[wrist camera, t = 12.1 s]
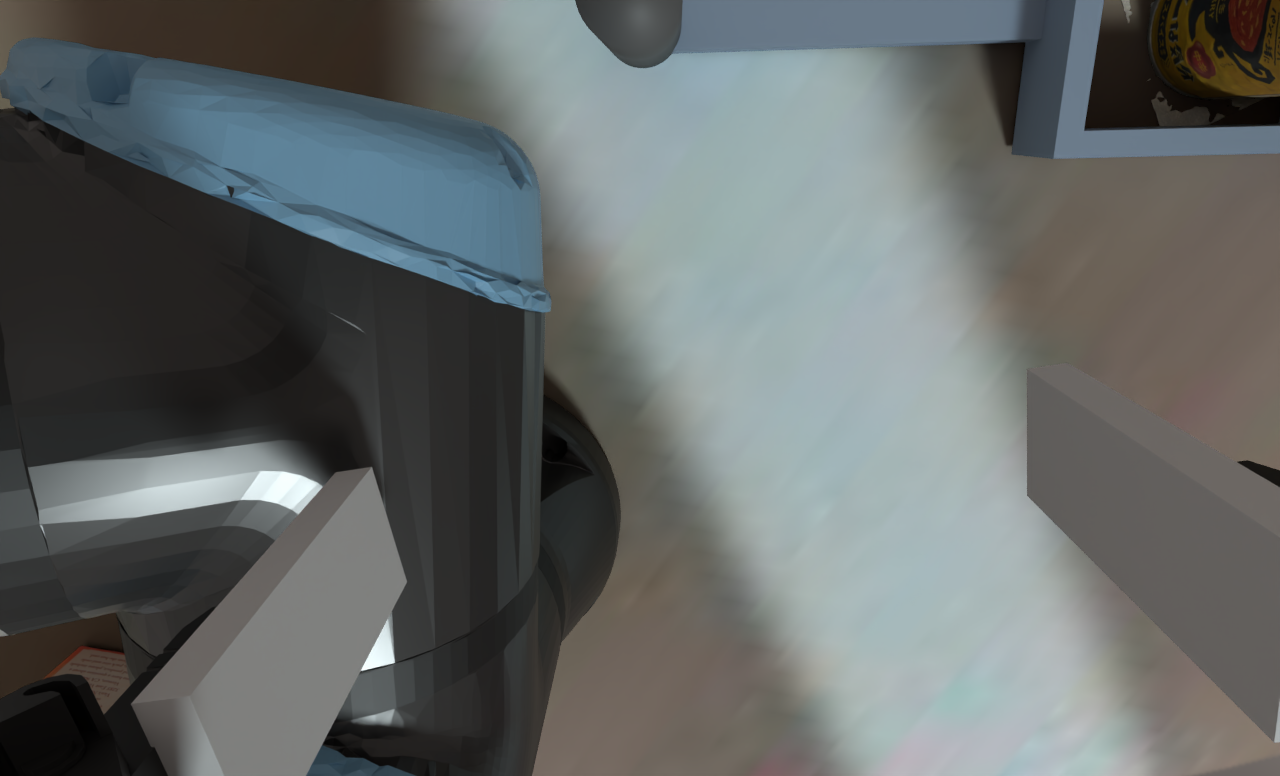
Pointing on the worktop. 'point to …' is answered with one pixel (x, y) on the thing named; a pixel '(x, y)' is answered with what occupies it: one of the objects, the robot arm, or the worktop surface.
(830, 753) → the worktop surface
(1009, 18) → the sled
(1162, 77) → the condiment
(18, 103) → the robot arm
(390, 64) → the worktop surface
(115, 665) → the cracker box
